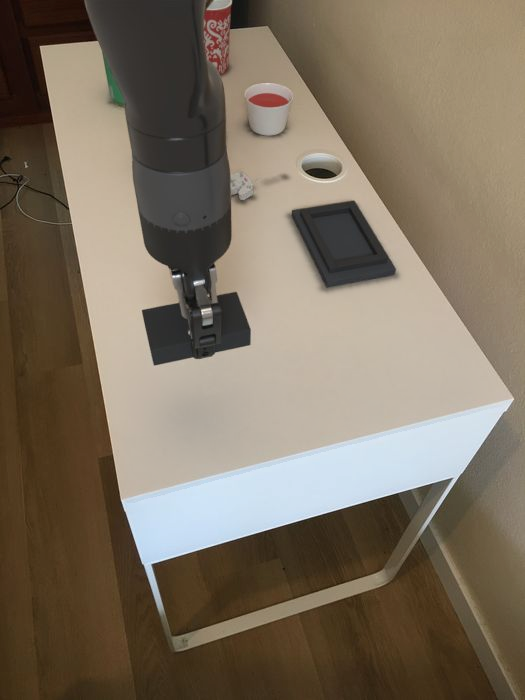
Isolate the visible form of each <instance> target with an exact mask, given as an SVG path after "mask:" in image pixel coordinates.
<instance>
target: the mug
mask: <svg viewBox="0 0 525 700" xmlns="http://www.w3.org/2000/svg"><path fill="white" fill-rule="evenodd" d="M232 4H233V0H214V1H213V2H212V3H211V5H210V6H209V7H208V8H207V10H206V11H205V14H204V46H205V54H206V59H208V60H209V61H210V62H211V63H212V64H213V65H214V66H215V67H216V68H217V70H218V71H219V73H220V75H223V74H224V73H226V72H227V71H228V69H229V53H230V34H231V33H230V32H231V17H232V16H231V14H232Z"/></svg>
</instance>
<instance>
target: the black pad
mask: <svg viewBox="0 0 525 700" xmlns="http://www.w3.org/2000/svg"><path fill="white" fill-rule="evenodd" d="M208 299H209V296H208ZM217 301H218V302H219V304H220V306H221V307H222V321H221V343H220V344H215V354H216V353H220V352H225V351H229V350H230V351H231V350H234V349H239V348H240V349H241V348H245V347H248V346H251V342H252V339H251V338H252V330H251V329H252V328H251V327H250V324H249V321H248V318H247V315H246V312H245V310H244V307H243V305H242V302H241V299H240V296H239V294H238V291H232V292H227V293H222V294H217ZM185 303H186V304H195V303H197V301H196V300H194V301H186V302H185ZM141 314H142V319H143V324H144V328H145V331H146V333H145V334H146V337H147V343H148V347H149V351H150V355H151V359H152V365H153V367H154V366H161V365H164V364H169V363H174V362H179V361H183V360H187V359H188V360H189V359H192V358H193V359H194V357H193V354H192V347H191V339H190V335H188V330H189V329H188V323H187V319H186V318H184V317H183V316H182V314H181V312H180V308H179V302H176V303H175V302H174V303H171V304H164V305H160V306H156V307H149V308H145V309H141Z"/></svg>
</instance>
